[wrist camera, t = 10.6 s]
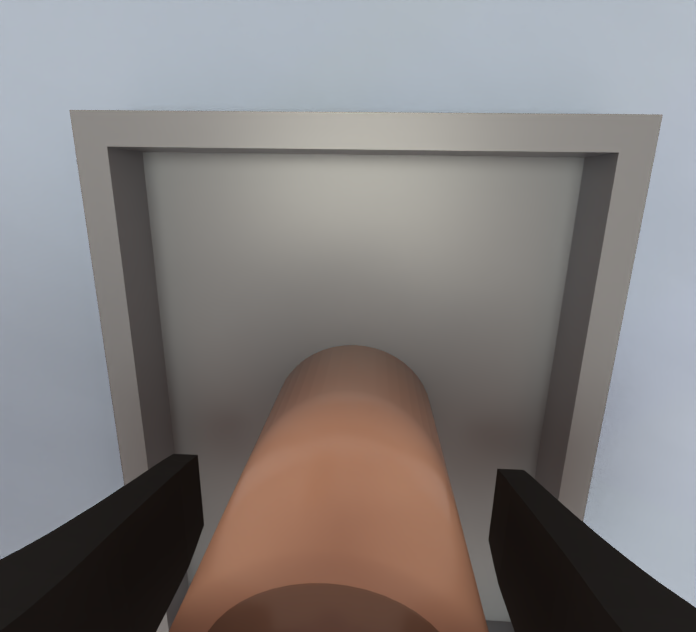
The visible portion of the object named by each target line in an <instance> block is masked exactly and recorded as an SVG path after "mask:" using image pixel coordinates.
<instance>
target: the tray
mask: <svg viewBox="0 0 696 632" xmlns="http://www.w3.org/2000/svg"><path fill="white" fill-rule="evenodd" d="M70 116H71V123H72V130H73V137H74V144H75V151H76V157H77V164H78V171H79V178H80V185H81V192H82V198H83V205H84V212H85V219H86V226H87V232H88V239H89V246H90V253H91V260H92V267H93V273H94V280H95V287H96V294H97V301H98V308H99V314H100V321H101V328H102V335H103V342H104V349H105V355H106V362H107V369H108V376H109V383H110V390H111V396H112V403H113V410H114V417H115V424H116V431H117V437H118V444H119V451H120V458H121V465H122V472H123V478H124V485H126V484H128V483H129V482H131V481H132V480H134V479H135V478H137V477H138V476H140V475H141V474H143V473H144V472H146V471H147V470H149V469H150V468H152V467H153V466H155V465H156V464H158V463H159V462H161V461H162V460H164V459H165V458H167V457H169V456H171V455H172V454H190V455H198V462H199V474H200V485H201V496H202V507H203V518H204V527H203V530H202V532H201V535H200V538H199V541H198V544H197V547H196V549H195V552H194V555H193V557H192V560H191V563H190V565H189V568H188V570H187V572H186V574H185V576H184V578H183V580H182V582H181V584H180V586H179V588H178V590H177V592H176V594H175V596H174V598H173V600H172V602H171V604H170V606H169V608H168V610H167V612H166V614H165V616H164V618H163V620H162V621H161V623H160V625H159V627H158V629H157V631H156V632H169V630H170V628H171V626H172V623H173V621H174V619H175V617H176V615H177V613H178V610H179V608H180V606H181V604H182V602H183V600H184V597H185V595H186V593H187V591H188V589H189V587H190V584H191V582H192V580H193V578H194V576H195V574H196V571H197V569H198V567H199V565H200V563H201V561H202V558H203V556H204V554H205V552H206V550H207V548H208V545H209V543H210V541H211V539H212V537H213V535H214V532H215V530H216V528H217V526H218V524H219V522H220V519H221V517H222V515H223V513H224V511H225V509H226V506H227V504H228V502H229V500H230V498H231V496H232V493H233V491H234V489H235V487H236V485H237V483H238V480H239V478H240V476H241V474H242V472H243V470H244V467H245V465H246V463H247V461H248V459H249V457H250V454H251V452H252V450H253V448H254V446H255V444H256V441H257V439H258V437H259V435H260V433H261V431H262V428H263V426H264V424H265V422H266V420H267V418H268V415H269V413H270V411H271V409H272V407H273V405H274V402H275V400H276V398H277V396H278V394H279V392H280V390H281V387H282V386H283V384H284V382H285V380H286V378H287V377H288V376H289V374H290V373H291V372H292V371H293V370H294V368H295V367H296V366H297V365H299V364H300V363H301V362H302V361H304V360H305V359H306V358H308V357H310V356H311V355H313V354H315V353H317V352H320V351H322V350H325V349H328V348H332V347H337V346H344V345H358V346H367V347H371V348H376V349H378V350H381V351H384V352H387V353H389V354H391V355H392V356H394V357H396V358H398V359H399V360H401V361H402V362H404V363H405V364H406V365H407V366H408V367H409V368H410V369H411V370H412V371H413V372H414V373H415V374H416V375H417V376H418V378H419V379H420V381H421V382H422V384H423V386H424V388H425V390H426V392H427V394H428V398H429V401H430V404H431V408H432V412H433V416H434V420H435V424H436V428H437V432H438V436H439V440H440V443H441V447H442V451H443V455H444V459H445V463H446V467H447V471H448V475H449V479H450V483H451V486H452V490H453V494H454V498H455V502H456V506H457V510H458V514H459V518H460V522H461V526H462V529H463V533H464V537H465V541H466V545H467V549H468V553H469V557H470V561H471V565H472V569H473V572H474V576H475V580H476V584H477V588H478V592H479V596H480V600H481V604H482V608H483V612H484V615H485V619H486V623H487V627H488V631H489V632H515V631H514V628H513V626H512V623H511V620H510V617H509V614H508V611H507V608H506V605H505V603H504V600H503V597H502V594H501V591H500V588H499V585H498V581H497V577H496V572H495V568H494V564H493V559H492V555H491V550H490V545H489V541H488V539H489V531H490V523H491V515H492V507H493V499H494V491H495V483H496V475H497V469H518V470H525V471H526V472H527V473H528V474H529V475H531V476H532V477H533V478H534V479H535V480H536V481H537V482H539V483H540V484H541V485H542V486H543V487H544V488H545V489H546V490H547V491H549V492H550V493H551V494H552V495H553V496H554V497H555V498H556V499H557V500H559V501H560V502H561V503H562V504H563V505H564V506H565V507H566V508H568V509H569V510H570V511H571V512H572V513H573V514H574V515H575V516H577V517H578V518H579V519H580V520H581V521H582V522H583V518H584V513H585V508H586V503H587V498H588V493H589V488H590V482H591V477H592V472H593V467H594V462H595V457H596V452H597V447H598V442H599V437H600V431H601V426H602V421H603V416H604V411H605V406H606V401H607V396H608V391H609V386H610V380H611V375H612V370H613V365H614V360H615V355H616V350H617V345H618V340H619V335H620V329H621V324H622V319H623V314H624V309H625V304H626V299H627V294H628V289H629V284H630V278H631V273H632V268H633V263H634V258H635V253H636V248H637V243H638V238H639V233H640V227H641V222H642V217H643V212H644V207H645V202H646V197H647V192H648V187H649V182H650V176H651V171H652V166H653V161H654V156H655V151H656V146H657V141H658V136H659V131H660V125H661V120H662V115H645V114H515V113H384V112H254V111H123V110H70Z"/></svg>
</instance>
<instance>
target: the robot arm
mask: <svg viewBox="0 0 696 632" xmlns="http://www.w3.org/2000/svg"><path fill="white" fill-rule="evenodd" d="M203 527H204V518H203V507H202V496H201V485H200V474H199V462H198V455H190V454H172V455H171V456H169V457H167V458H165V459H164V460H162V461H161V462H159V463H158V464H156V465H155V466H153V467H152V468H150V469H149V470H147V471H146V472H144V473H143V474H141V475H140V476H138V477H137V478H135V479H134V480H132V481H131V482H129V483H128V484H126V485H125V486H123V487H122V488H120V489H119V490H117V491H116V492H114V493H113V494H111V495H110V496H108V497H107V498H105V499H104V500H102V501H101V502H99V503H98V504H96V505H94V506H93V507H91V508H90V509H88V510H86V511H85V512H83V513H81V514H80V515H78V516H76V517H75V518H73V519H72V520H70V521H68V522H67V523H65V524H63V525H62V526H60V527H59V528H57V529H55V530H54V531H52V532H50V533H49V534H47V535H45V536H43V537H42V538H40V539H38V540H36V541H35V542H33V543H31V544H29V545H27V546H25V547H24V548H22V549H20V550H18V551H16V552H14V553H12V554H10V555H8V556H6V557H5V558H3V559H1V560H0V632H156V631H157V629H158V627H159V625H160V623H161V621H162V620H163V618H164V616H165V614H166V612H167V610H168V608H169V606H170V604H171V602H172V600H173V598H174V596H175V594H176V592H177V590H178V588H179V586H180V584H181V582H182V580H183V578H184V576H185V574H186V572H187V570H188V568H189V565H190V563H191V560H192V557H193V555H194V552H195V549H196V547H197V544H198V541H199V538H200V535H201V532H202V530H203ZM488 541H489V545H490V550H491V555H492V559H493V564H494V568H495V572H496V577H497V581H498V585H499V588H500V591H501V594H502V597H503V600H504V603H505V605H506V608H507V611H508V614H509V617H510V620H511V623H512V626H513V628H514V631H515V632H696V608H695V607H694V606H692V605H691V604H689V603H688V602H687V601H685V600H684V599H682V598H681V597H679V596H678V595H676V594H675V593H674V592H672V591H671V590H669V589H668V588H666V587H665V586H663V585H662V584H661V583H659V582H658V581H656V580H655V579H654V578H652V577H651V576H650V575H648V574H647V573H646V572H644V571H643V570H642V569H640V568H639V567H638V566H636V565H635V564H634V563H633V562H631V561H630V560H629V559H628V558H626V557H625V556H624V555H622V554H621V553H620V552H619V551H617V550H616V549H615V548H613V547H612V546H611V545H610V544H609V543H607V542H606V541H605V540H604V539H602V538H601V537H600V536H599V535H598V534H596V533H595V532H594V531H593V530H592V529H591V528H589V527H588V526H587V525H586V524H585V523H584V522H582V521H581V520H580V519H579V518H578V517H577V516H575V515H574V514H573V513H572V512H571V511H570V510H569V509H568V508H566V507H565V506H564V505H563V504H562V503H561V502H560V501H559V500H557V499H556V498H555V497H554V496H553V495H552V494H551V493H550V492H549V491H547V490H546V489H545V488H544V487H543V486H542V485H541V484H540V483H539V482H537V481H536V480H535V479H534V478H533V477H532V476H531V475H529V474H528V473H527V472H526V471H525V470H518V469H497V475H496V483H495V491H494V499H493V507H492V515H491V523H490V531H489V539H488Z"/></svg>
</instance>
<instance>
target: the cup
mask: <svg viewBox="0 0 696 632" xmlns="http://www.w3.org/2000/svg"><path fill="white" fill-rule="evenodd" d="M169 632H489V631H488V627H487V623H486V619H485V615H484V612H483V608H482V604H481V600H480V596H479V592H478V588H477V584H476V580H475V576H474V572H473V569H472V565H471V561H470V557H469V553H468V549H467V545H466V541H465V537H464V533H463V529H462V526H461V522H460V518H459V514H458V510H457V506H456V502H455V498H454V494H453V490H452V486H451V483H450V479H449V475H448V471H447V467H446V463H445V459H444V455H443V451H442V447H441V443H440V440H439V436H438V432H437V428H436V424H435V420H434V416H433V412H432V408H431V404H430V401H429V398H428V394H427V392H426V390H425V388H424V386H423V384H422V382H421V381H420V379H419V378H418V376H417V375H416V374H415V373H414V372H413V371H412V370H411V369H410V368H409V367H408V366H407V365H406V364H405V363H404V362H402V361H401V360H399V359H398V358H396V357H394V356H392V355H391V354H389V353H387V352H384V351H381V350H378V349H376V348H371V347H367V346H358V345H344V346H337V347H332V348H328V349H325V350H322V351H320V352H317V353H315V354H313V355H311V356H310V357H308V358H306V359H305V360H304V361H302V362H301V363H300V364H299V365H297V366H296V367H295V368H294V370H293V371H292V372H291V373H290V374H289V376H288V377H287V378H286V380H285V382H284V384H283V386H282V387H281V390H280V392H279V394H278V396H277V398H276V400H275V402H274V405H273V407H272V409H271V411H270V413H269V415H268V418H267V420H266V422H265V424H264V426H263V428H262V431H261V433H260V435H259V437H258V439H257V441H256V444H255V446H254V448H253V450H252V452H251V454H250V457H249V459H248V461H247V463H246V465H245V467H244V470H243V472H242V474H241V476H240V478H239V480H238V483H237V485H236V487H235V489H234V491H233V493H232V496H231V498H230V500H229V502H228V504H227V506H226V509H225V511H224V513H223V515H222V517H221V519H220V522H219V524H218V526H217V528H216V530H215V532H214V535H213V537H212V539H211V541H210V543H209V545H208V548H207V550H206V552H205V554H204V556H203V558H202V561H201V563H200V565H199V567H198V569H197V571H196V574H195V576H194V578H193V580H192V582H191V584H190V587H189V589H188V591H187V593H186V595H185V597H184V600H183V602H182V604H181V606H180V608H179V610H178V613H177V615H176V617H175V619H174V621H173V623H172V626H171V628H170V630H169Z"/></svg>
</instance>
